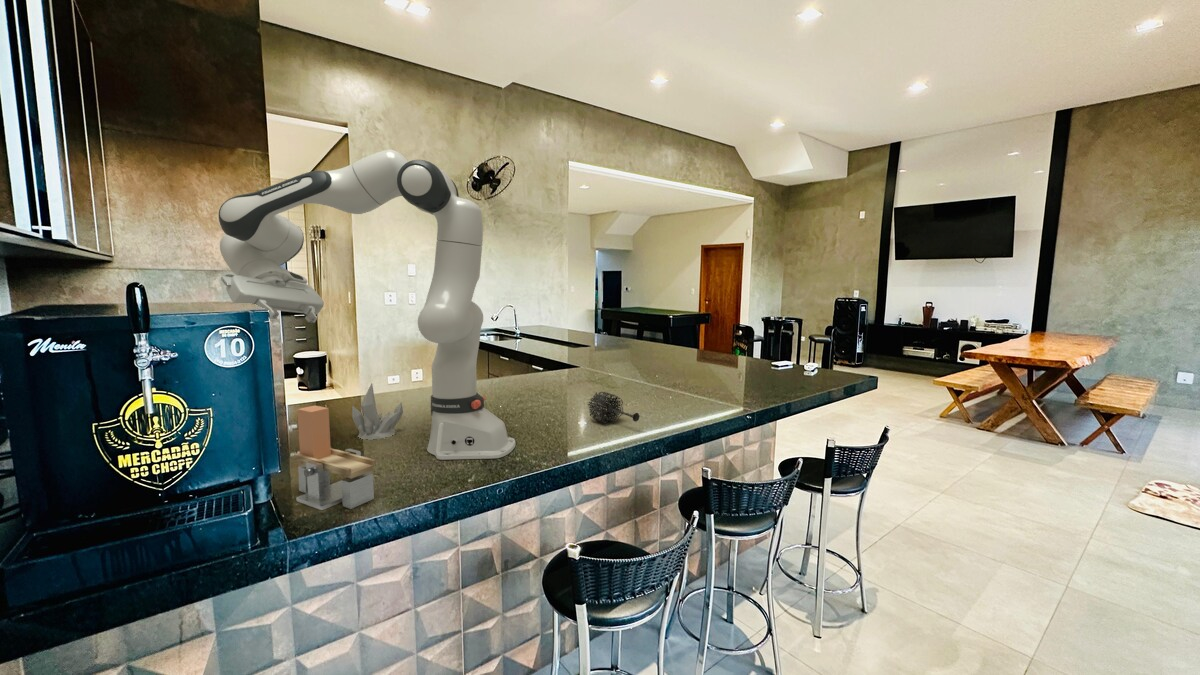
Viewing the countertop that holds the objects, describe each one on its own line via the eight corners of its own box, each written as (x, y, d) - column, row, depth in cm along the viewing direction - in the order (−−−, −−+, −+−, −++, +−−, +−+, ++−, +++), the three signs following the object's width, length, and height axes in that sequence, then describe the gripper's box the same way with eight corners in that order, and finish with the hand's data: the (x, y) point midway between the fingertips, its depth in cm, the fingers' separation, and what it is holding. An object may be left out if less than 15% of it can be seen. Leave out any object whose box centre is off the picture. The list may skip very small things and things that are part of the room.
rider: (300, 456, 98) (297, 409, 97) (317, 451, 101) (314, 405, 100) (313, 460, 96) (311, 412, 95) (330, 455, 99) (328, 408, 98)
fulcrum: (282, 497, 95) (280, 458, 94) (337, 477, 105) (335, 442, 104) (334, 516, 87) (332, 474, 87) (387, 492, 97) (386, 455, 97)
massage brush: (624, 435, 137) (624, 403, 136) (578, 418, 154) (578, 390, 153) (647, 430, 143) (648, 399, 142) (600, 414, 160) (601, 386, 159)
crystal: (406, 435, 135) (405, 383, 133) (354, 443, 128) (351, 388, 126) (401, 426, 143) (399, 377, 142) (351, 433, 136) (349, 381, 135)
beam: (293, 463, 97) (293, 454, 97) (323, 454, 102) (323, 445, 102) (347, 480, 89) (346, 469, 89) (376, 469, 94) (376, 459, 94)
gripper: (224, 262, 104) (254, 302, 100) (311, 278, 123) (339, 312, 119) (211, 284, 105) (240, 325, 101) (298, 297, 124) (326, 331, 120)
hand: (294, 318), depth 110 cm, fingers open, 8 cm apart
